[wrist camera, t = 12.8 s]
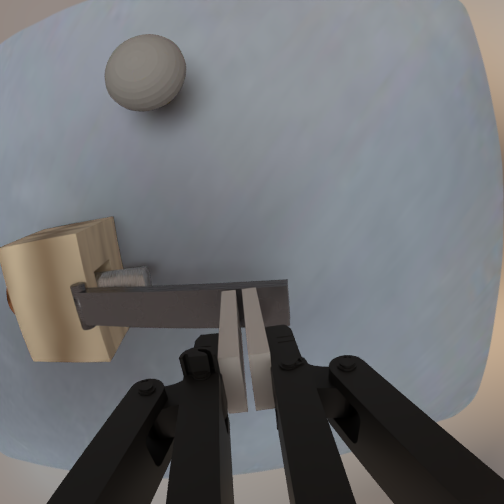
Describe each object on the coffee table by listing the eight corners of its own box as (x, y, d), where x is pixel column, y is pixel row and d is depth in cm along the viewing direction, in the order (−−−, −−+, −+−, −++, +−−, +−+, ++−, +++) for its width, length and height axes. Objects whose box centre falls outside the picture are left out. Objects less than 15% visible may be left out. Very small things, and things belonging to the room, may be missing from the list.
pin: (35, 306, 26) (15, 323, 22) (24, 267, 25) (1, 281, 21) (157, 295, 26) (147, 316, 22) (148, 250, 25) (135, 264, 21)
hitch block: (67, 322, 29) (33, 361, 21) (44, 229, 26) (-3, 248, 19) (134, 317, 29) (110, 361, 22) (113, 216, 27) (75, 233, 19)
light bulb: (154, 137, 25) (117, 120, 16) (124, 91, 24) (79, 58, 14) (206, 102, 25) (197, 66, 15) (175, 57, 24) (153, 6, 14)
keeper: (87, 323, 21) (79, 329, 20) (75, 282, 20) (66, 287, 19) (290, 323, 19) (290, 332, 18) (286, 272, 18) (286, 279, 17)
